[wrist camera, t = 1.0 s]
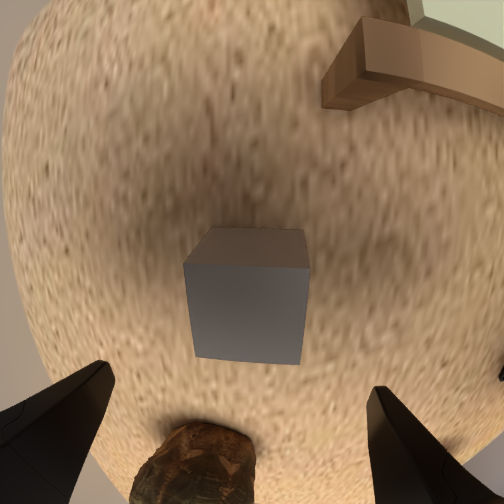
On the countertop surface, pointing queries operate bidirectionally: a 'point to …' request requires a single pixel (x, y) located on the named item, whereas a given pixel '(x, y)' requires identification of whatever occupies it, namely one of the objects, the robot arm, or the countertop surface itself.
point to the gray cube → (248, 294)
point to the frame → (410, 68)
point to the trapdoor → (463, 22)
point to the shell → (198, 468)
